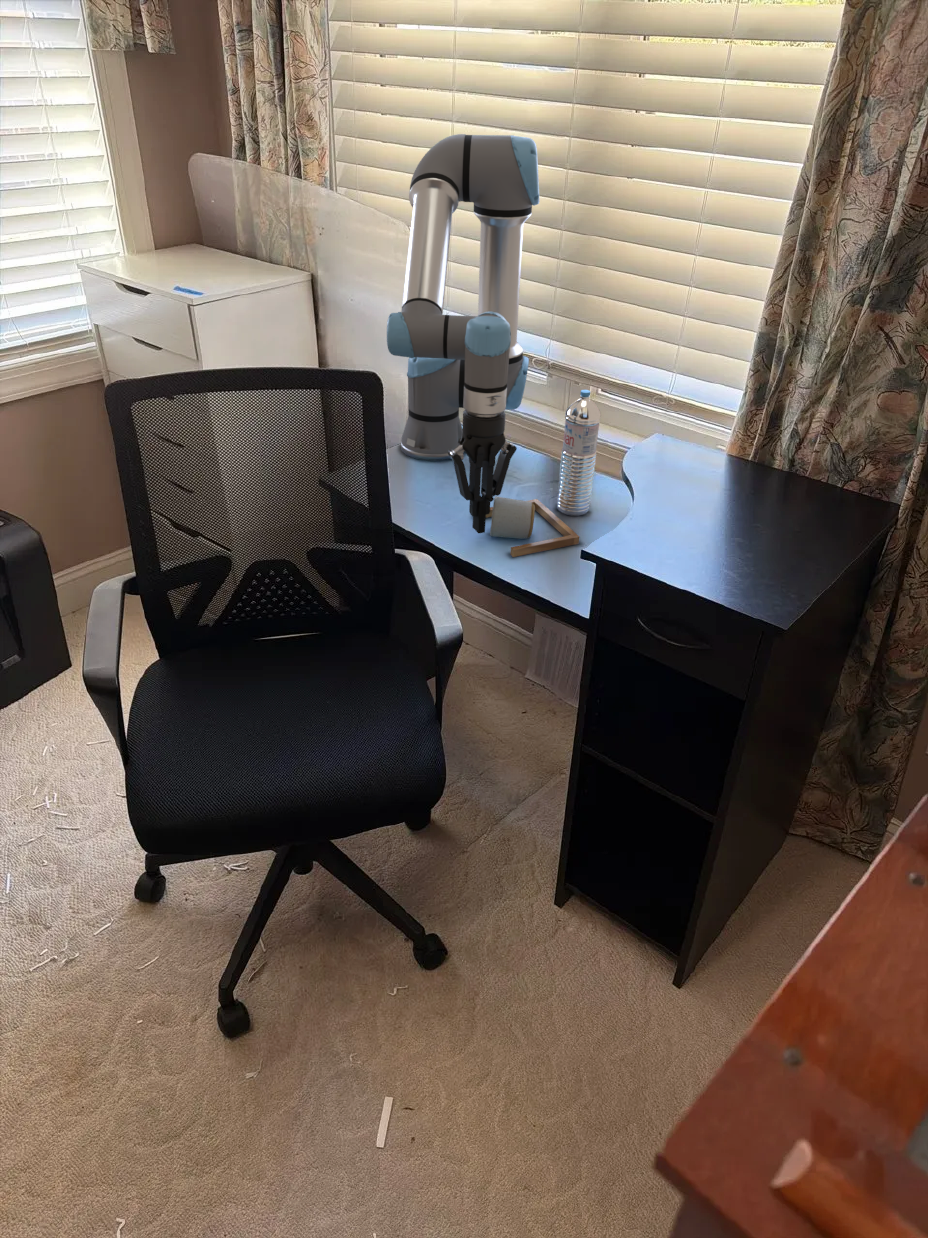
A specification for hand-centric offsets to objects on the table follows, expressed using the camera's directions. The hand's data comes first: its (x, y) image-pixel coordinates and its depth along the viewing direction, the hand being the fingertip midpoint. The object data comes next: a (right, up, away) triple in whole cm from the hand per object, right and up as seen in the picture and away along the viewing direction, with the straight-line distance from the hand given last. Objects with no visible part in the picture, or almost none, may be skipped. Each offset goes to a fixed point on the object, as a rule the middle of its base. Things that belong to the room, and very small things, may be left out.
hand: (478, 529), depth 163 cm
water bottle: (+20, +5, +13) cm, 24 cm away
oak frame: (+9, 0, +5) cm, 10 cm away
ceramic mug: (+6, 0, +4) cm, 7 cm away
